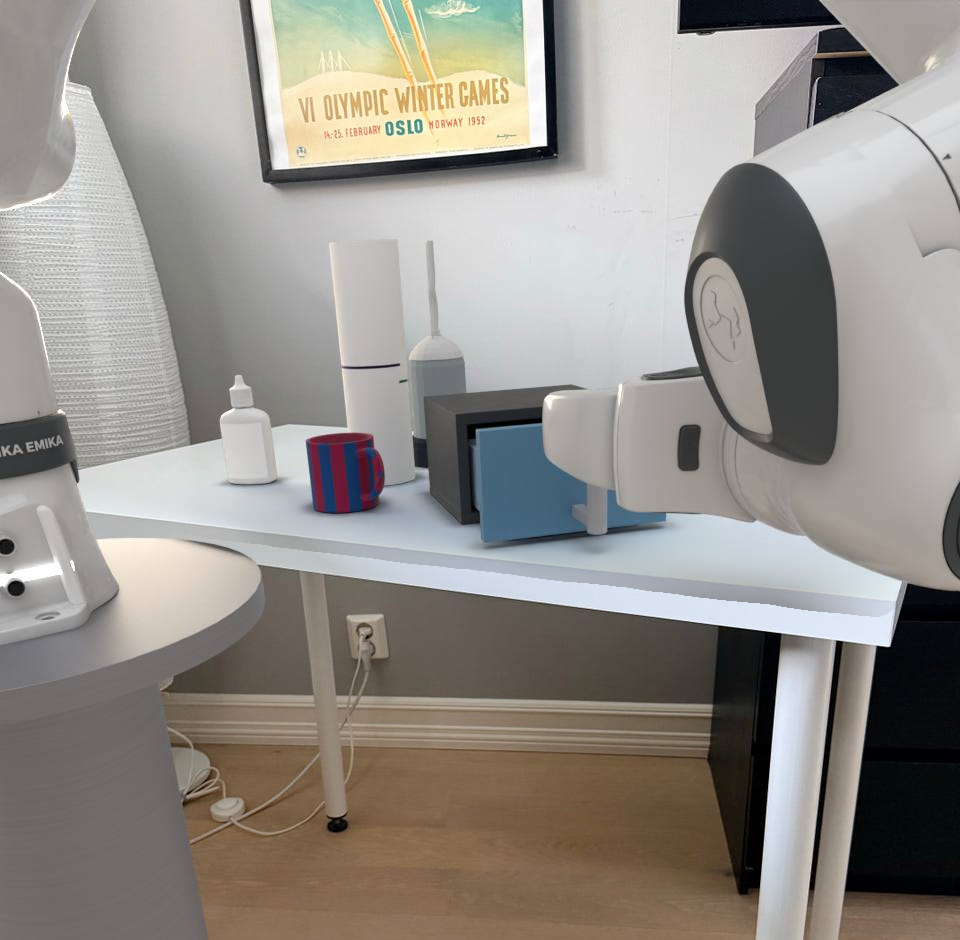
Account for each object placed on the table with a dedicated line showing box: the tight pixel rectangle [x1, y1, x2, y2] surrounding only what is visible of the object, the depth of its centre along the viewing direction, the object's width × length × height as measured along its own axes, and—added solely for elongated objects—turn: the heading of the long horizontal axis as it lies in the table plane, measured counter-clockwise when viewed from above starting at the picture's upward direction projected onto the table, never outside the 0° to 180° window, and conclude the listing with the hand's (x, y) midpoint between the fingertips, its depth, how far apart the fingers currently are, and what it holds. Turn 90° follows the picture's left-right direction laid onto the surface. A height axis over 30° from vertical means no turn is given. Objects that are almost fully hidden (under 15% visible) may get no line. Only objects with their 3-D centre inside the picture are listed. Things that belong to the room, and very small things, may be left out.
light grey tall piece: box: [407, 240, 467, 468], centre depth 110 cm, size 8×8×25 cm
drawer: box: [468, 423, 667, 544], centre depth 81 cm, size 19×16×9 cm
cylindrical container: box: [328, 238, 416, 487], centre depth 101 cm, size 7×7×25 cm
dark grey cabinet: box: [424, 384, 587, 525], centre depth 92 cm, size 14×16×10 cm
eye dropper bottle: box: [219, 374, 278, 485], centre depth 106 cm, size 4×6×12 cm
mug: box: [305, 432, 385, 514], centre depth 92 cm, size 7×10×7 cm
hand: (665, 401), depth 59 cm, fingers open, 8 cm apart
